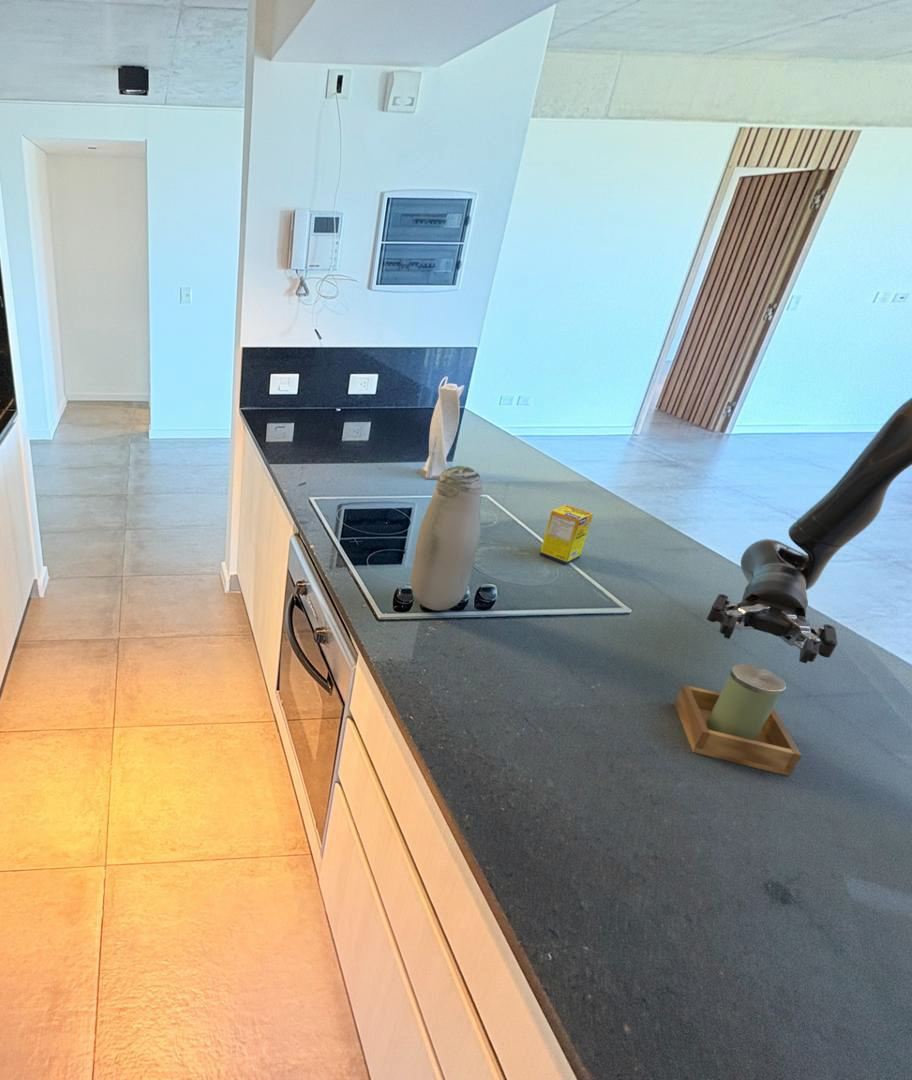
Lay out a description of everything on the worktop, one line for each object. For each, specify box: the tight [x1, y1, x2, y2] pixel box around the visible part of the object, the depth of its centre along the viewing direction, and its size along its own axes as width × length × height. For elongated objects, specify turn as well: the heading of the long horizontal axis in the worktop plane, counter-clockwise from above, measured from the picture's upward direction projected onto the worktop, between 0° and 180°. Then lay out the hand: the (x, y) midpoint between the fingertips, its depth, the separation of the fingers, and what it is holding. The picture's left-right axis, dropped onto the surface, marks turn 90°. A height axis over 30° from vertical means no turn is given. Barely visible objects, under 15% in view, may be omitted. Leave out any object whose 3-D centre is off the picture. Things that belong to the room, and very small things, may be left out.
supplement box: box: [539, 504, 594, 566], centre depth 134 cm, size 6×6×11 cm
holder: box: [673, 684, 802, 777], centre depth 87 cm, size 11×11×4 cm
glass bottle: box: [410, 465, 483, 611], centre depth 112 cm, size 10×10×28 cm
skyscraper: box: [416, 375, 465, 481], centre depth 176 cm, size 8×8×28 cm
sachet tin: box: [706, 663, 787, 741], centre depth 85 cm, size 6×6×10 cm
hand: (766, 644), depth 89 cm, fingers open, 8 cm apart
